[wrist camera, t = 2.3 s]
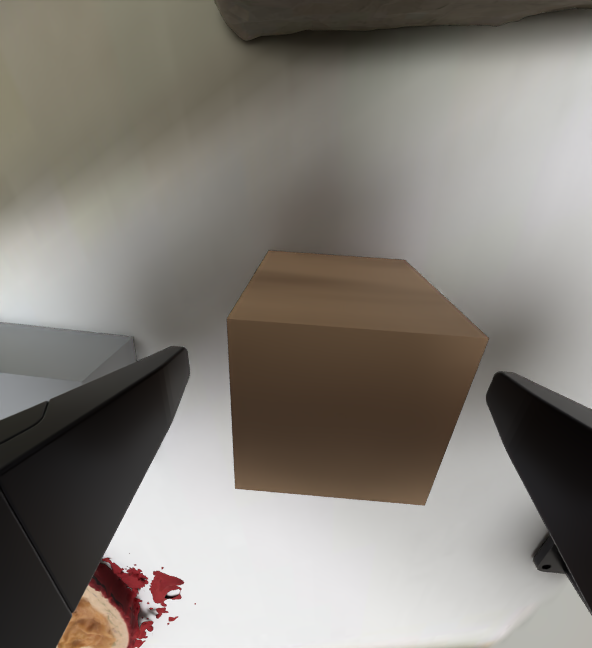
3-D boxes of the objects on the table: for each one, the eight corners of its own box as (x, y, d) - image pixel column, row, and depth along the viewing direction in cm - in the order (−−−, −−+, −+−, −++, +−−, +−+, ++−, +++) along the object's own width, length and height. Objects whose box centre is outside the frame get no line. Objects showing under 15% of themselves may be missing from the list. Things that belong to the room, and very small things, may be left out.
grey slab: (154, 446, 17) (116, 509, 13) (27, 431, 17) (-40, 491, 13) (136, 333, 13) (81, 382, 10) (-19, 316, 14) (-121, 359, 10)
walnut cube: (380, 372, 13) (424, 505, 8) (267, 363, 13) (235, 488, 8) (404, 259, 11) (489, 338, 6) (268, 250, 11) (226, 318, 6)
